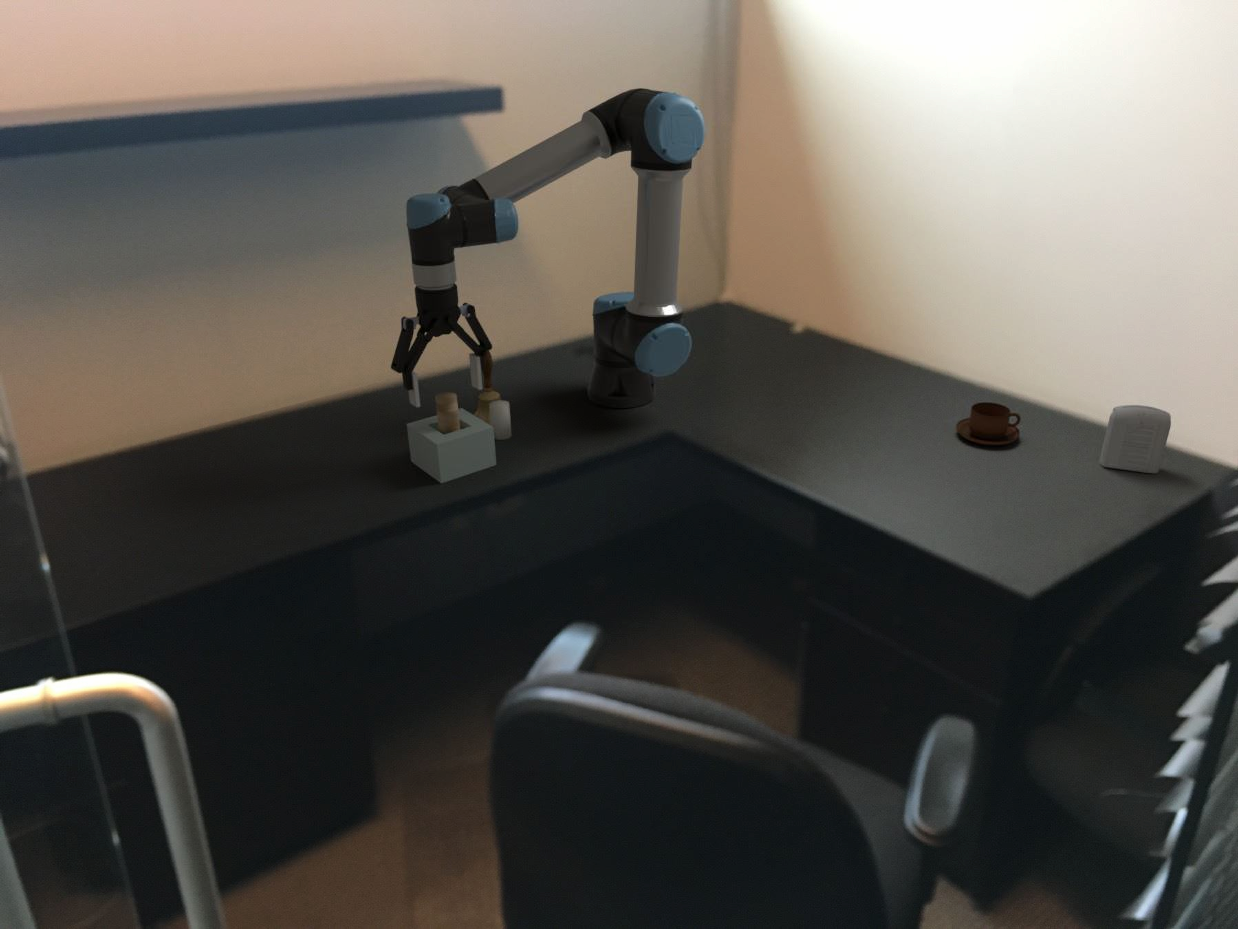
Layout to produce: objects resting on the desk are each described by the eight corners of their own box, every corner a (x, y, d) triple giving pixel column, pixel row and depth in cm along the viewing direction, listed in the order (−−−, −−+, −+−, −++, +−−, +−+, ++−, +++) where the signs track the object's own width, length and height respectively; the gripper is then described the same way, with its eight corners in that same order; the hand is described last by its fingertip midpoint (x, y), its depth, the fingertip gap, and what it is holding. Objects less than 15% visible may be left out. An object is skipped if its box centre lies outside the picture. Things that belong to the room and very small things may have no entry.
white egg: (504, 429, 207) (502, 398, 204) (515, 436, 204) (512, 404, 201) (488, 435, 205) (485, 403, 201) (498, 441, 202) (495, 409, 199)
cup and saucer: (991, 421, 207) (995, 394, 204) (1031, 444, 197) (1036, 416, 194) (942, 430, 203) (946, 402, 200) (980, 454, 193) (985, 425, 190)
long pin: (457, 456, 195) (450, 390, 189) (467, 463, 193) (460, 396, 186) (439, 462, 193) (431, 395, 187) (449, 469, 190) (441, 402, 184)
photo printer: (1157, 466, 187) (1172, 405, 181) (1160, 476, 183) (1176, 414, 178) (1097, 458, 190) (1111, 398, 185) (1099, 468, 187) (1113, 407, 181)
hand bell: (463, 422, 211) (457, 350, 204) (486, 408, 217) (480, 338, 210) (496, 429, 207) (491, 356, 200) (518, 414, 214) (513, 344, 207)
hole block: (465, 444, 201) (461, 407, 197) (496, 465, 192) (493, 427, 188) (411, 461, 194) (406, 423, 190) (441, 483, 185) (437, 444, 182)
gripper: (484, 267, 187) (492, 374, 196) (362, 292, 173) (377, 406, 183) (505, 276, 181) (513, 385, 191) (381, 302, 168) (396, 419, 177)
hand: (446, 396), depth 187 cm, fingers open, 12 cm apart
